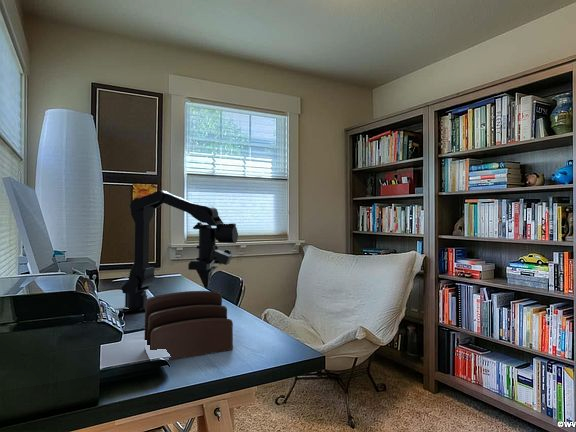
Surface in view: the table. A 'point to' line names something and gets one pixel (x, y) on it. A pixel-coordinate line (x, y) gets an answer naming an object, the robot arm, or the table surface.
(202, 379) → the table surface
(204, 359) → the table surface
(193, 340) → the letter holder
